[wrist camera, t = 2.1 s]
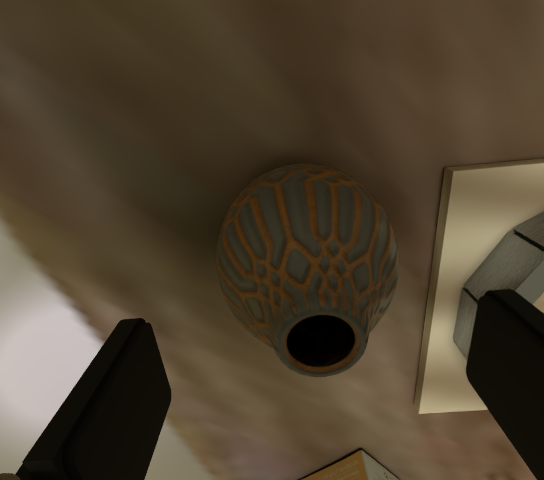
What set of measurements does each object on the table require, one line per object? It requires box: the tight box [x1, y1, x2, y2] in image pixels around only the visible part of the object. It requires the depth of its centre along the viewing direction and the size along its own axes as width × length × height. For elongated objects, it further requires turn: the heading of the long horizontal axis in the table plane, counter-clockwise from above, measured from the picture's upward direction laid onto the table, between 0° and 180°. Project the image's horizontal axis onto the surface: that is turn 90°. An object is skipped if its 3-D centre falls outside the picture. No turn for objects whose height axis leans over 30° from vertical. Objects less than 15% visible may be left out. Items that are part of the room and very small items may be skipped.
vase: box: [217, 163, 398, 377], centre depth 12 cm, size 7×7×9 cm
